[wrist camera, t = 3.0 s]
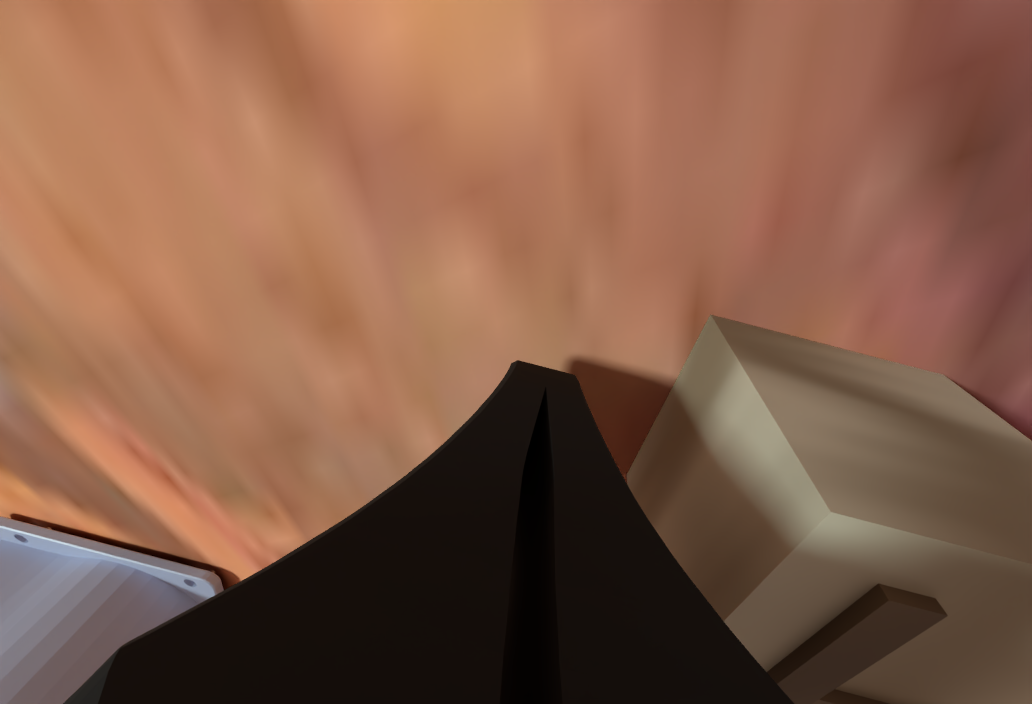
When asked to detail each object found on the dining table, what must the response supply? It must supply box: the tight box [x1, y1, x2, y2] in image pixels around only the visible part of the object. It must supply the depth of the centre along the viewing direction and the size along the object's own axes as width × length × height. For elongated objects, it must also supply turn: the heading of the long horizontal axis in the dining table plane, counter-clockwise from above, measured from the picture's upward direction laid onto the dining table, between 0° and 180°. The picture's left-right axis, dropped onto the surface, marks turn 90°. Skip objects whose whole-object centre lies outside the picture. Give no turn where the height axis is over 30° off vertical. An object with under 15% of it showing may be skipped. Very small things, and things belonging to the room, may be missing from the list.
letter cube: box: [626, 315, 1032, 704], centre depth 8 cm, size 5×5×5 cm
